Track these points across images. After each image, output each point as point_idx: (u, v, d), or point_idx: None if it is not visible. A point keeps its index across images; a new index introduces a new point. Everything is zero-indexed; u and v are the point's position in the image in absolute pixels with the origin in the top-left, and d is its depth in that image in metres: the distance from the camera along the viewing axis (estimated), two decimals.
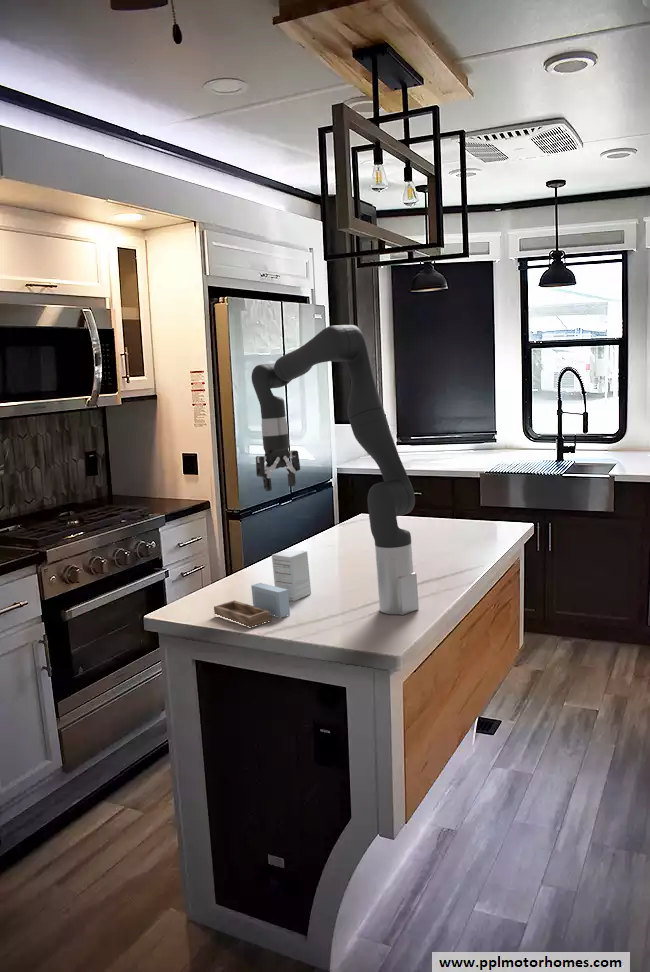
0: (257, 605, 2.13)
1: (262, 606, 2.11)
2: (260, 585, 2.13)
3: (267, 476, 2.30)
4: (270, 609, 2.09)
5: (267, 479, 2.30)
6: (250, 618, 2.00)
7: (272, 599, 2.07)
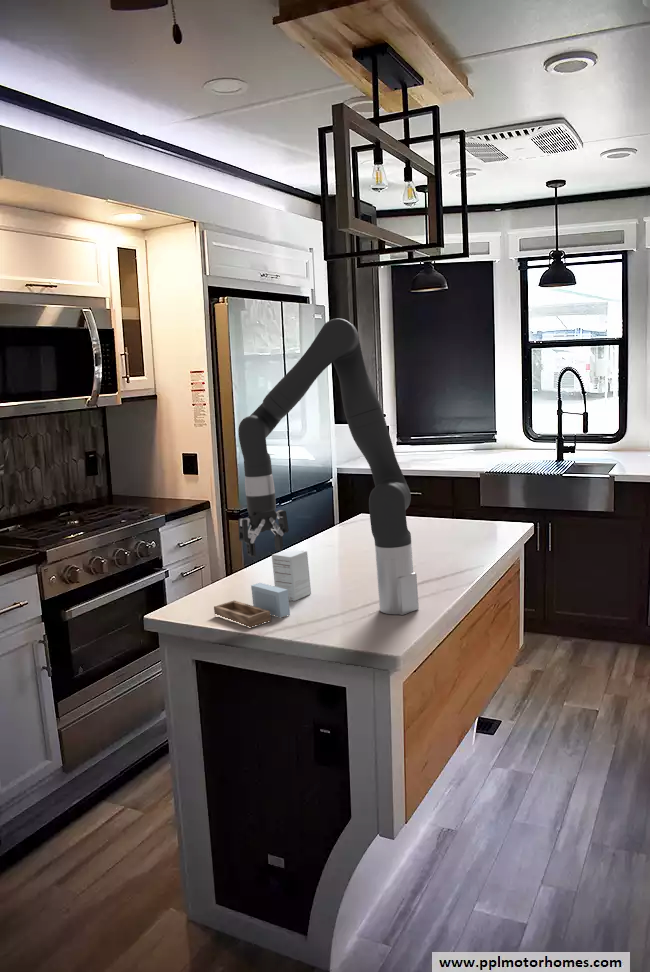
0: (257, 605, 2.13)
1: (262, 606, 2.11)
2: (260, 585, 2.13)
3: (251, 541, 2.05)
4: (270, 609, 2.09)
5: (251, 544, 2.05)
6: (250, 618, 2.00)
7: (272, 599, 2.07)
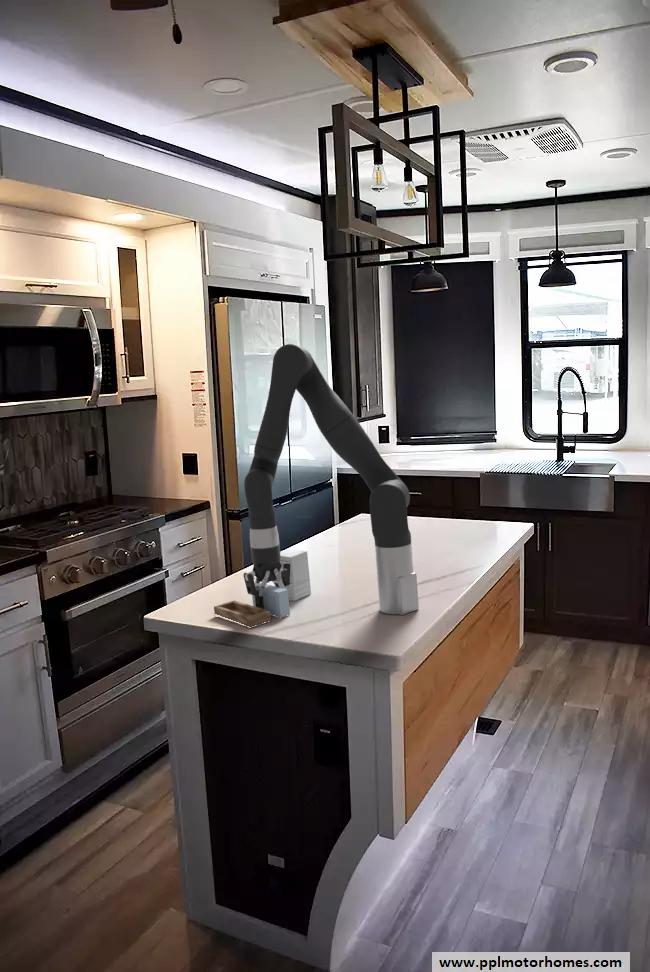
0: None
1: None
2: None
3: (259, 594, 2.07)
4: (270, 609, 2.09)
5: (259, 597, 2.08)
6: (250, 618, 2.00)
7: (272, 599, 2.07)
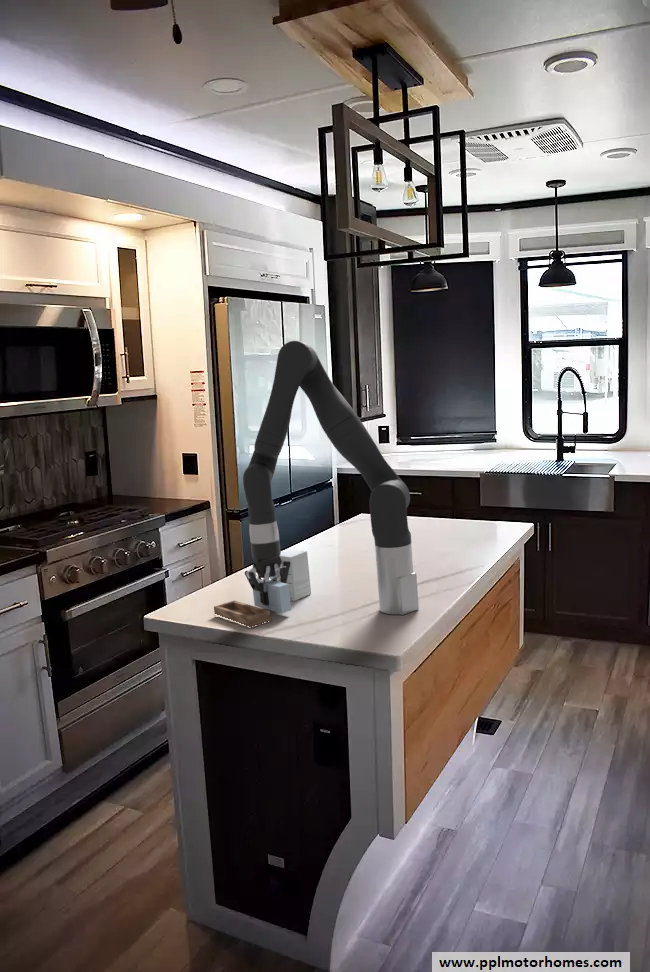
0: (258, 600, 2.13)
1: None
2: None
3: (264, 590, 2.08)
4: (271, 604, 2.08)
5: (264, 593, 2.08)
6: (250, 618, 2.00)
7: (273, 594, 2.07)
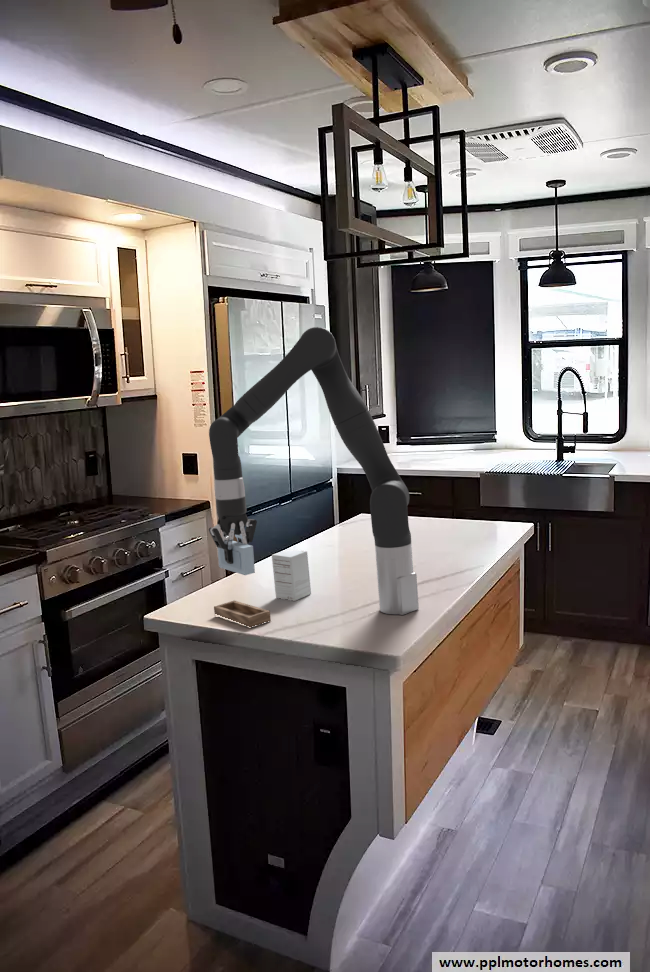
0: (222, 561, 2.08)
1: None
2: None
3: (228, 547, 2.03)
4: (235, 565, 2.04)
5: (228, 551, 2.03)
6: (250, 618, 2.00)
7: (237, 555, 2.02)
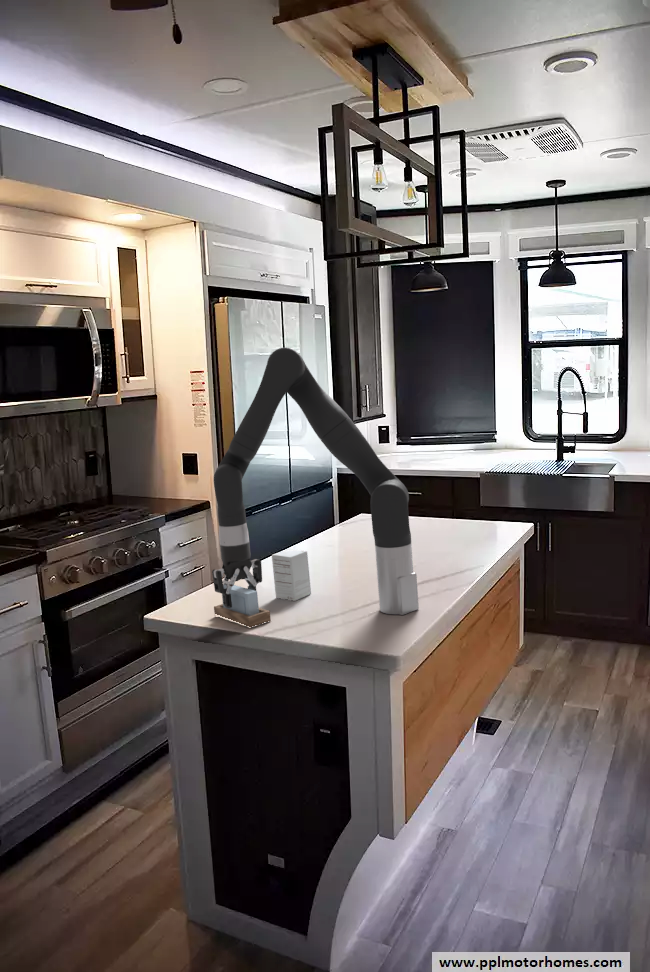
0: None
1: (232, 608, 2.08)
2: None
3: (227, 592, 2.03)
4: (239, 611, 2.05)
5: (227, 595, 2.04)
6: (250, 618, 2.00)
7: (241, 601, 2.04)
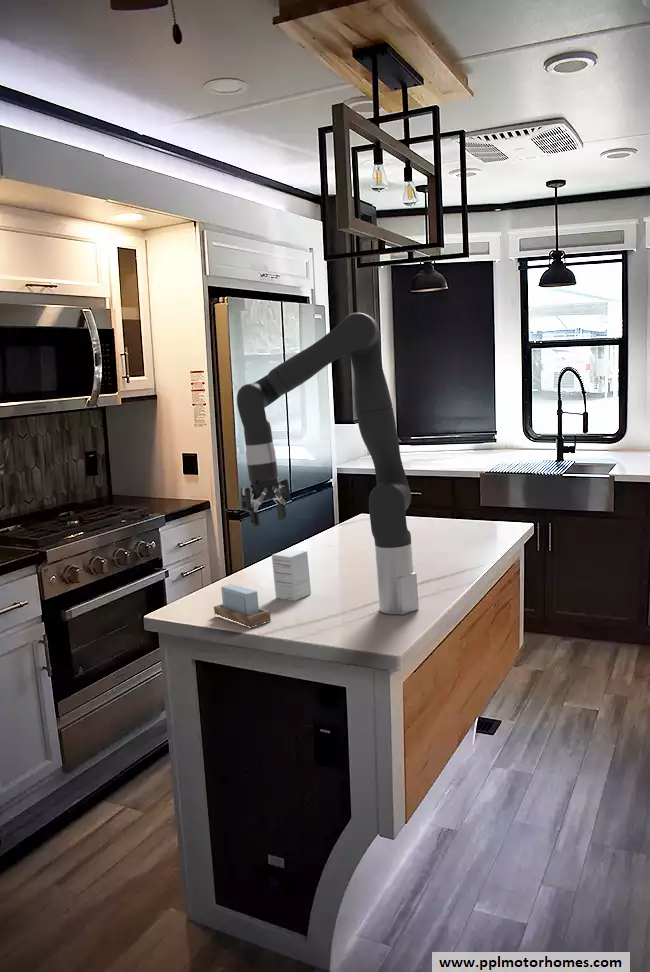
0: (227, 607, 2.10)
1: (232, 608, 2.08)
2: (230, 586, 2.10)
3: (254, 510, 2.04)
4: (239, 611, 2.05)
5: (254, 513, 2.04)
6: (250, 618, 2.00)
7: (241, 601, 2.04)
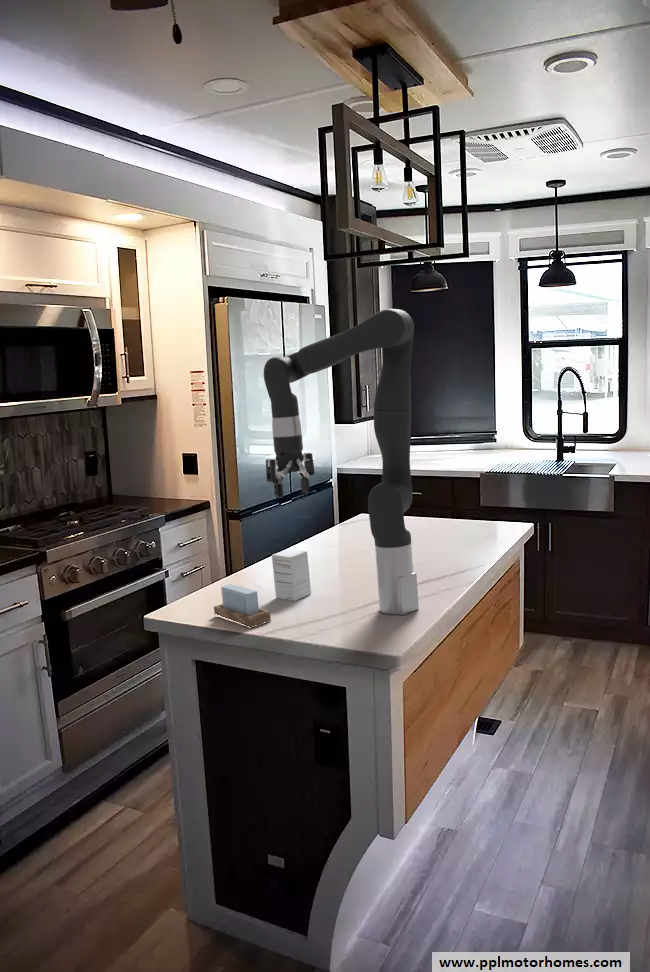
0: (227, 607, 2.10)
1: (232, 608, 2.08)
2: (230, 586, 2.10)
3: (278, 481, 2.07)
4: (239, 611, 2.05)
5: (278, 485, 2.07)
6: (250, 618, 2.00)
7: (241, 601, 2.04)
